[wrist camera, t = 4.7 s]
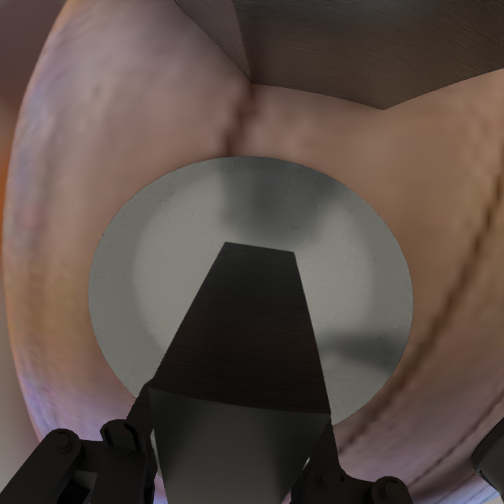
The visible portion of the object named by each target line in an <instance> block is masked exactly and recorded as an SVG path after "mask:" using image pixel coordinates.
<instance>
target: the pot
mask: <svg viewBox="0 0 504 504" xmlns="http://www.w3.org/2000/svg"><path fill="white" fill-rule="evenodd" d="M174 1H175V2H176V4H177V5H178V6H179V7H180V8H181V9H182V10H183V11H184V12H185V13H186V14H187V15H188V16H190V17H191V18H192V19H193V20H194V21H195V22H196V23H197V24H198V25H199V26H200V27H201V28H202V29H203V30H204V31H205V32H206V33H207V34H208V35H209V36H210V37H211V38H212V39H213V40H214V41H215V42H216V43H217V44H218V46H219V47H220V48H221V49H222V50H223V51H224V52H225V53H226V54H227V55H228V56H229V57H230V58H231V59H232V61H233V62H234V63H235V64H236V65H237V66H238V67H239V68H240V69H241V71H242V72H243V73H244V74H245V75H246V76H247V77H248V79H249V80H250V81H251V82H252V83H257V84H265V85H273V86H280V87H286V88H292V89H298V90H304V91H309V92H314V93H319V94H324V95H329V96H333V97H337V98H342V99H346V100H350V101H354V102H358V103H361V104H365V105H369V106H372V107H376V108H379V109H382V110H385V109H387V108H390V107H392V106H394V105H397V104H400V103H402V102H405V101H407V100H410V99H412V98H415V97H418V96H420V95H423V94H426V93H428V92H431V91H434V90H437V89H440V88H442V87H445V86H448V85H451V84H454V83H457V82H460V81H463V80H466V79H469V78H472V77H475V76H479V75H482V74H485V73H489V72H492V71H495V70H499V69H503V68H504V0H174Z"/></svg>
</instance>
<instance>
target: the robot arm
mask: <svg viewBox="0 0 504 504" xmlns="http://www.w3.org/2000/svg"><path fill="white" fill-rule="evenodd" d="M152 379H153V378H152ZM152 379H151V380H149V381H148V382H147V383H145V384H144V385H143V387H142V389H141V391H140V393H139V396H138V397H137V399H136V401H135V404H133V406H132V408H131V410H130V412H129V414H128V416H127V418H126V420H124V419H116V420H112V421H109V422H107V423H106V424H104V425H103V426H102V428H101V430H100V433H101V436H102V439H103V441H91V440H82V439H79V437H78V435H77V434H75V433H74V432H73V431H71V430H68V429H60V428H59V429H55V430H52V431H51V432H50V433H48V434H47V435H46V437H45V438H44V439H43V440H42V441H41V443H40V444H39V445H38V446H37V448H36V449H35V450H34V451H33V453H32V454H31V455H30V456H29V457H28V459H27V460H26V461H25V462H24V464H23V465H22V466H21V467H20V469H19V470H18V471H17V473H16V474H15V475H14V476H13V478H12V479H11V480H10V481H9V483H8V484H7V485H6V487H5V488H4V489H3V491H2V492H1V493H0V504H89V503H90V504H153V501H154V492H155V483H154V479H155V476H156V473H157V472H158V476H160V477H162V474H161V469H160V464H159V459H158V453H157V448H156V442H155V435H154V429H153V422H152V415H151V407H150V399H149V391H148V387H149V385H150V383H151V381H152ZM471 464H472V466H473V468H474V470H475V472H476V473H477V474H478V475H479V476H481V477H482V478H483V479H484V480H485V481H486V482H487V483H488V484H490V485H491V486H492V487H493V488H494V489H496V490H497V491H498V492H499V494H500V496H501V498H502V500H503V503H504V419H503V420H502V421H501V422H500V423H499V424H498V425H497V426H496V427H495V428H494V429H493V431H492V432H491V433H490V434H489V435H488V436H487V437H486V438H485V439H484V440H483V442H482V443H481V444H480V445H479V447H478V448H477V449H476V451H475V452H474V454H473V456H472V458H471ZM290 491H291V501H290V503H289V504H413V502H412V499H411V497H410V494H409V492H408V489H407V487H406V485H405V484H404V483H403V481H401V480H400V479H398V478H396V477H392V476H385V477H382V478H380V479H378V480H377V481H376V482H370V481H365V480H360V479H356V478H353V477H351V476H349V475H347V474H346V472H345V471H344V470H343V469H342V468H341V467H340V464H339V460H338V454H337V448H336V443H335V437H334V433H333V426H332V421H331V416H330V418H329V420H328V422H327V424H326V426H325V428H324V430H323V432H322V434H321V436H320V438H319V440H318V442H317V444H316V445H315V447H314V449H313V451H312V453H311V455H310V456H309V458H308V460H307V462H306V464H305V465H304V467H303V469H302V471H301V472H300V474H299V476H298V477H297V479H296V481H295V482H294V484H293V486H292V487H291V489H290V490H289V492H288V494H289V493H290ZM288 494H287V495H288Z"/></svg>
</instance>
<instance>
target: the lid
mask: <svg viewBox="0 0 504 504" xmlns="http://www.w3.org/2000/svg"><path fill="white" fill-rule="evenodd" d="M88 300H89V312H90V317H91V322H92V327H93V330H94V333H95V336H96V339H97V342H98V345H99V347H100V349H101V351H102V353H103V355H104V357H105V359H106V361H107V362H108V364H109V366H110V367H111V369H112V370H113V372H114V373H115V375H116V376H117V377H118V378H119V380H120V381H121V382H122V383H123V385H124V386H125V387H126V388H127V389H128V390H129V391H130V392H131V393H132V394H133V395H134V396H135V397H136V398H137V397H138V396H139V393H140V391H141V389H142V387H143V385H144V384H145V383H147V382H148V381H149V380H151V379H152V378H153V379H152V381H151V383H150V385H149V387H148V391H149V399H150V407H151V415H152V422H153V429H154V435H155V442H156V448H157V453H158V459H159V464H160V469H161V474H162V479H163V483H164V488H165V492H166V496H167V501H168V504H281V503H282V501H283V500H284V498H285V497H286V495H287V494H288V492H289V490H290V489H291V487H292V486H293V484H294V482H295V481H296V479H297V477H298V476H299V474H300V472H301V471H302V469H303V467H304V465H305V464H306V462H307V460H308V458H309V456H310V455H311V453H312V451H313V449H314V447H315V445H316V444H317V442H318V440H319V438H320V436H321V434H322V432H323V430H324V428H325V426H326V424H327V422H328V420H329V418H330V416H331V421H332V426H333V425H335V424H337V423H339V422H340V421H342V420H344V419H346V418H347V417H349V416H350V415H352V414H353V413H355V412H356V411H358V410H359V409H360V408H361V407H362V406H364V405H365V404H366V403H367V402H368V401H369V400H371V399H372V398H373V397H374V395H375V394H376V393H377V392H378V391H379V390H380V389H381V388H382V387H383V386H384V384H385V383H386V382H387V380H388V379H389V377H390V376H391V375H392V373H393V372H394V370H395V368H396V366H397V364H398V363H399V361H400V359H401V357H402V354H403V352H404V349H405V347H406V344H407V341H408V338H409V333H410V329H411V324H412V316H413V292H412V282H411V278H410V274H409V270H408V266H407V262H406V260H405V257H404V255H403V253H402V250H401V248H400V246H399V243H398V241H397V240H396V238H395V237H394V235H393V234H392V232H391V230H390V229H389V227H388V226H387V224H386V223H385V222H384V220H383V219H382V218H381V217H380V216H379V215H378V214H377V212H376V211H375V210H374V209H373V208H372V207H371V206H370V205H369V204H368V203H367V202H366V201H365V200H363V199H362V198H361V197H360V196H358V195H357V194H356V193H355V192H354V191H352V190H351V189H350V188H348V187H347V186H345V185H343V184H341V183H340V182H338V181H336V180H335V179H333V178H331V177H329V176H328V175H326V174H323V173H321V172H318V171H316V170H313V169H311V168H308V167H306V166H303V165H301V164H297V163H292V162H288V161H284V160H279V159H275V158H265V157H252V156H237V157H224V158H215V159H211V160H206V161H202V162H198V163H193V164H190V165H187V166H185V167H182V168H180V169H177V170H175V171H172V172H170V173H167V174H165V175H164V176H162V177H160V178H159V179H157V180H155V181H154V182H152V183H150V184H149V185H147V186H145V187H144V188H143V189H142V190H140V191H139V192H138V193H137V194H136V195H134V196H133V197H132V198H131V199H130V200H128V201H127V203H126V204H125V205H124V206H123V207H122V208H121V209H120V211H119V212H118V213H117V214H116V215H115V216H114V217H113V219H112V221H111V222H110V224H109V225H108V227H107V229H106V230H105V232H104V233H103V235H102V237H101V239H100V242H99V244H98V247H97V249H96V251H95V254H94V258H93V262H92V266H91V270H90V276H89V286H88Z"/></svg>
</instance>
